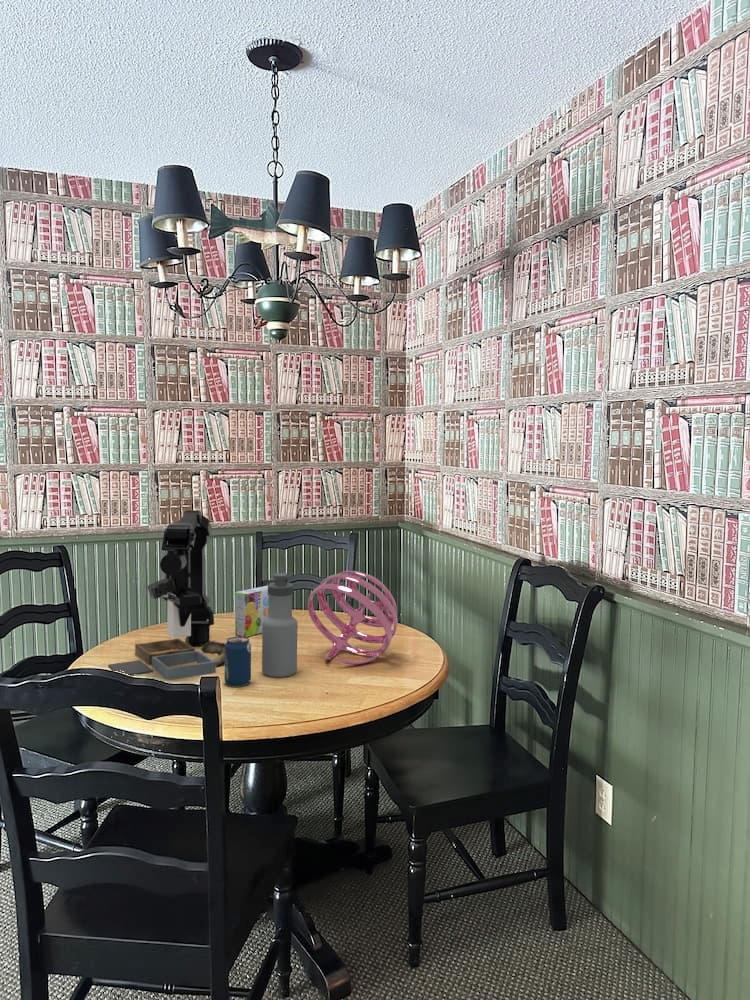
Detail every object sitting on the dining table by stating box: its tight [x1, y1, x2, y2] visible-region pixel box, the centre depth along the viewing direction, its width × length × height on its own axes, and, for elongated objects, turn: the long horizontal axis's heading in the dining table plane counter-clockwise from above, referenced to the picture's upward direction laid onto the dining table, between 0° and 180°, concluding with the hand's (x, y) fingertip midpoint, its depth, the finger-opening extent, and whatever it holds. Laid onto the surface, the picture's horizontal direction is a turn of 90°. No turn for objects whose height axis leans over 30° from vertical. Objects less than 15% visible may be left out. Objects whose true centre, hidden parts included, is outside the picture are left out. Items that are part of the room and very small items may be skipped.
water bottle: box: [261, 572, 299, 678], centre depth 205 cm, size 10×10×28 cm
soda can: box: [224, 636, 252, 688], centre depth 195 cm, size 7×7×12 cm
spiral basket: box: [307, 570, 398, 666], centre depth 219 cm, size 28×28×27 cm
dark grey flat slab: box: [107, 659, 154, 676], centre depth 206 cm, size 9×12×1 cm
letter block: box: [166, 598, 191, 639], centre depth 205 cm, size 5×5×10 cm
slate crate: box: [151, 649, 217, 681], centre depth 206 cm, size 14×14×3 cm
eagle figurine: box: [200, 640, 226, 667], centre depth 214 cm, size 8×7×9 cm
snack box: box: [234, 585, 269, 638], centre depth 253 cm, size 21×6×15 cm, turn 144°
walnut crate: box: [134, 638, 196, 666], centre depth 219 cm, size 14×14×3 cm
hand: (179, 624), depth 205 cm, fingers closed on letter block, 5 cm apart
